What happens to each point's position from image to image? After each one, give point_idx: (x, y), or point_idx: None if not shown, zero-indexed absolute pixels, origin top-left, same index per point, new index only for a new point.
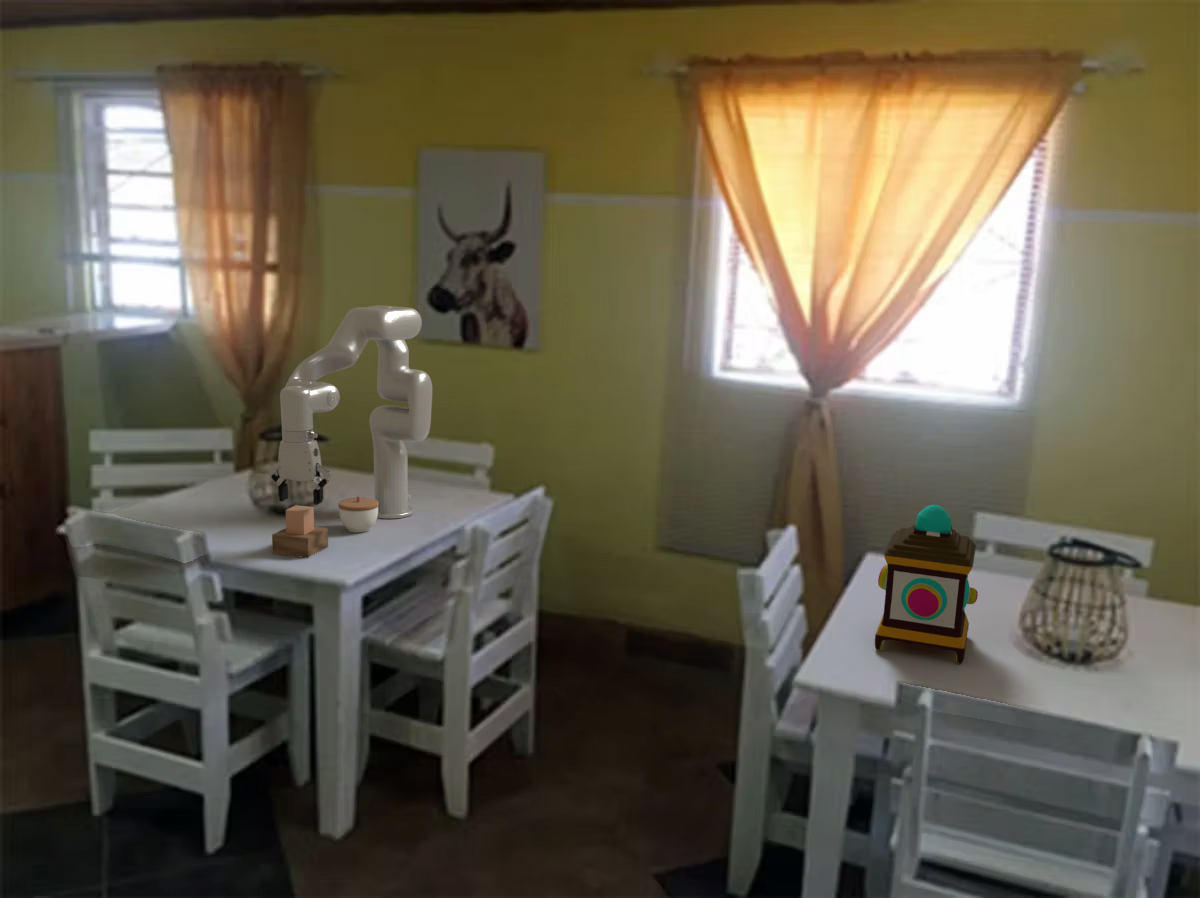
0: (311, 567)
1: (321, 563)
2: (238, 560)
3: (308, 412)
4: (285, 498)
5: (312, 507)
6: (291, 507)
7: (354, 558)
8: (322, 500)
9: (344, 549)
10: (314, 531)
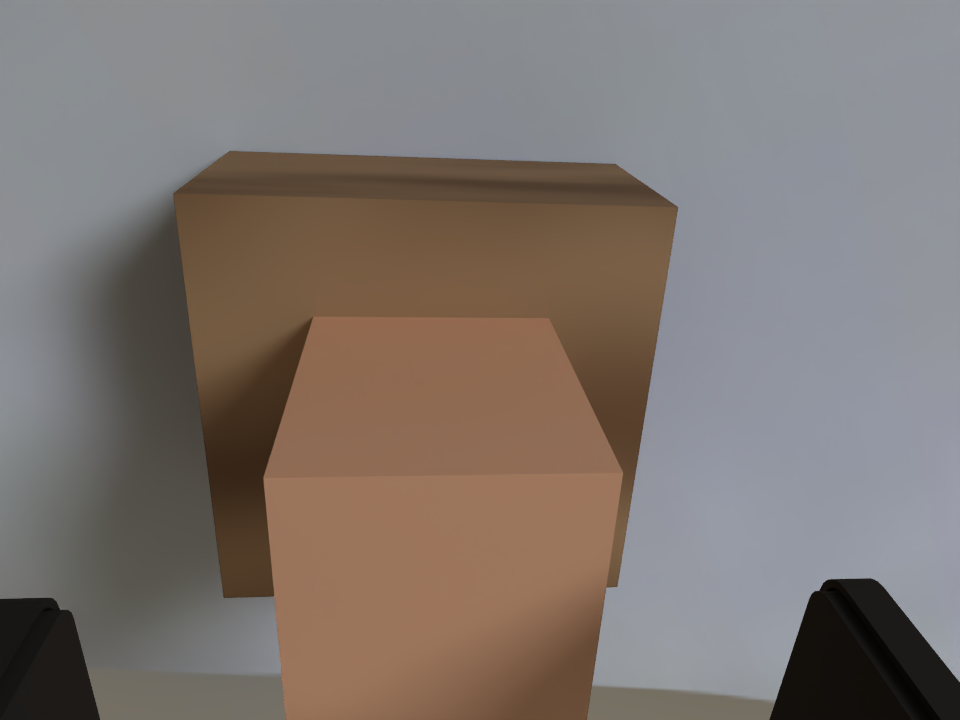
0: (678, 621)
1: (714, 543)
2: (132, 665)
3: None
4: (78, 702)
5: (614, 501)
6: (280, 609)
7: (920, 380)
8: (880, 584)
9: (785, 190)
10: (581, 378)
